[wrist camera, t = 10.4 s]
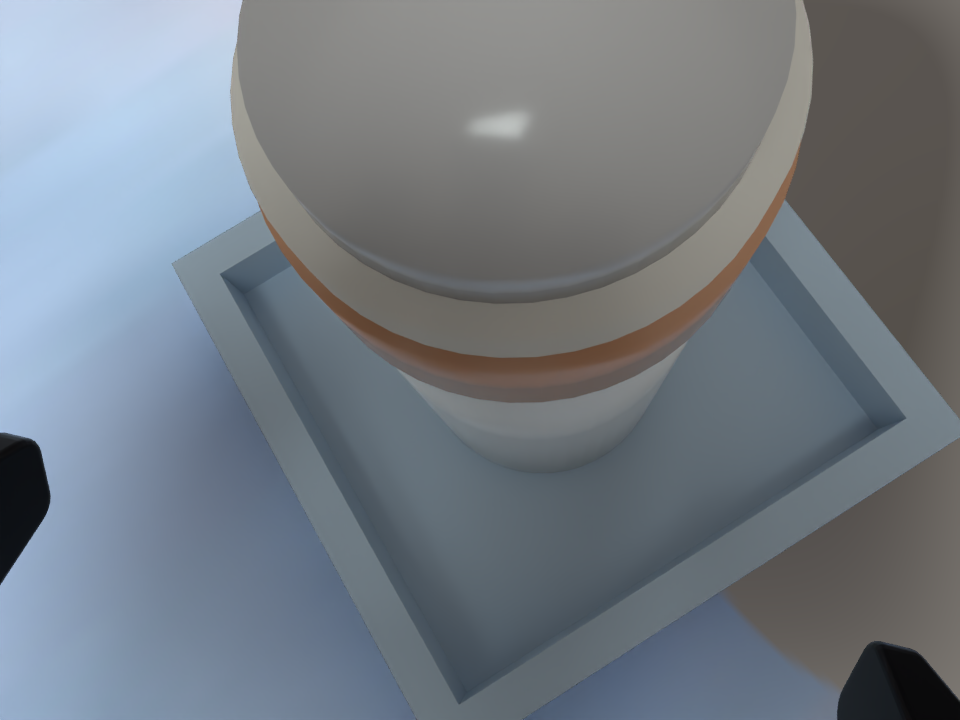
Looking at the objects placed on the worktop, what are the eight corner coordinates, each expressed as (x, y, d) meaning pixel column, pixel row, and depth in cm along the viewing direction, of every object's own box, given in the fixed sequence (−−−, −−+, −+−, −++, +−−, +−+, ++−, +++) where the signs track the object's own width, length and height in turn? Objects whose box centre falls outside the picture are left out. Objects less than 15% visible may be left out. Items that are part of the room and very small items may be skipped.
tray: (456, 744, 16) (443, 769, 14) (209, 293, 19) (171, 263, 17) (921, 445, 17) (969, 431, 15) (615, 49, 20) (622, -5, 18)
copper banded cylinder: (641, 499, 17) (811, 391, 5) (401, 453, 17) (109, 271, 6) (678, 265, 18) (881, -229, 7) (450, 231, 18) (279, -268, 7)
